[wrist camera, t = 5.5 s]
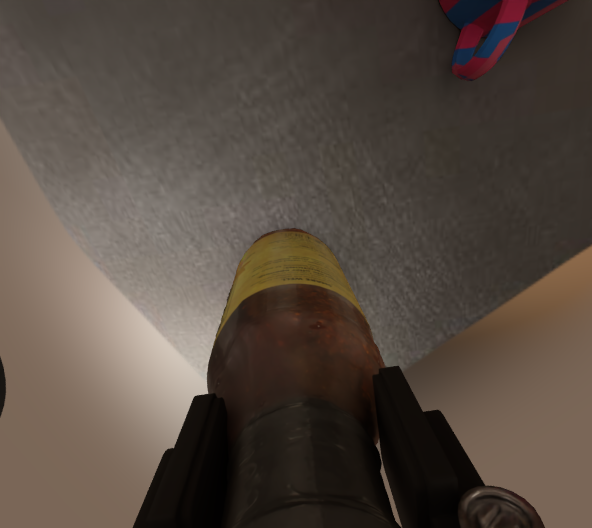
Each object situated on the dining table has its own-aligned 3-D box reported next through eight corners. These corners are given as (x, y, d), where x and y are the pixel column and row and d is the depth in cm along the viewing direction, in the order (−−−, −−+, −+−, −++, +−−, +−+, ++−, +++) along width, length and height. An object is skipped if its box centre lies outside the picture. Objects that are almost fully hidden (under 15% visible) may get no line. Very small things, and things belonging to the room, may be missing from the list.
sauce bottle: (222, 251, 25) (-6, 589, 5) (312, 207, 24) (413, 411, 5) (270, 337, 26) (224, 830, 7) (355, 298, 26) (559, 719, 6)
